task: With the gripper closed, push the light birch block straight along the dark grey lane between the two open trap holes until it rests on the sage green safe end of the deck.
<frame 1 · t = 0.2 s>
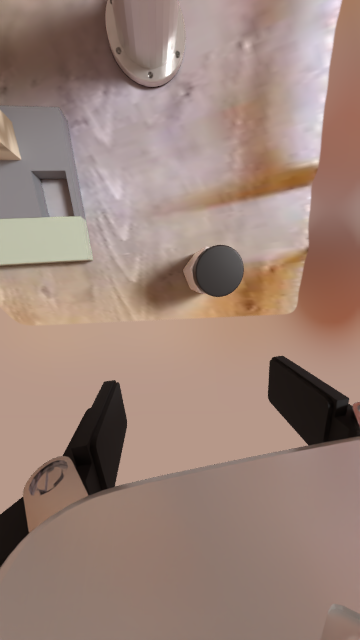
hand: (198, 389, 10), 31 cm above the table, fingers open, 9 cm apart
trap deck: (24, 198, 32), on the table
jar: (201, 272, 40), on the table
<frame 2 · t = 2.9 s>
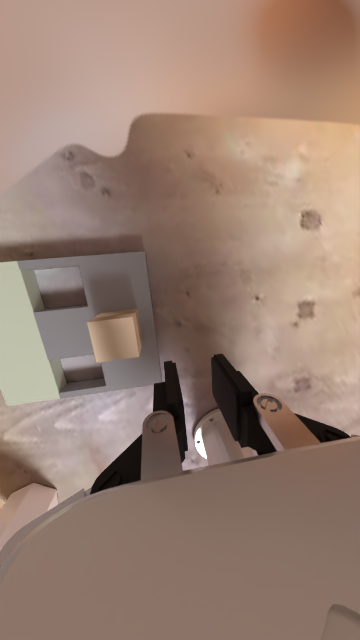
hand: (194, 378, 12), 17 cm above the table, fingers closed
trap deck: (79, 328, 27), on the table
birch block: (122, 327, 25), point 2 cm above the table, touching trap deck
jar: (36, 497, 34), on the table
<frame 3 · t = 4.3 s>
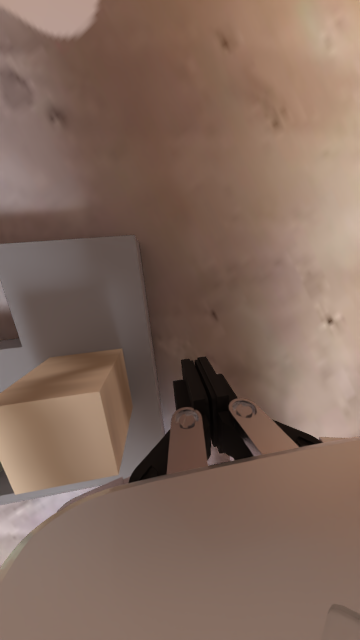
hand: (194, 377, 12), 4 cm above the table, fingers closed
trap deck: (19, 378, 15), on the table
birch block: (93, 383, 13), point 2 cm above the table, touching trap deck
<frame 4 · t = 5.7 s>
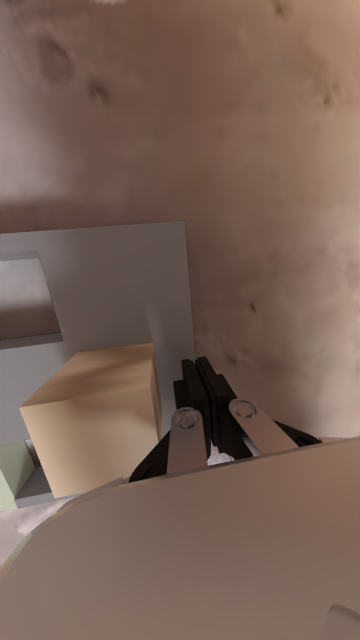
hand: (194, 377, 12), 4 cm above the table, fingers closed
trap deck: (52, 375, 14), on the table
birch block: (122, 379, 12), point 3 cm above the table, touching gripper
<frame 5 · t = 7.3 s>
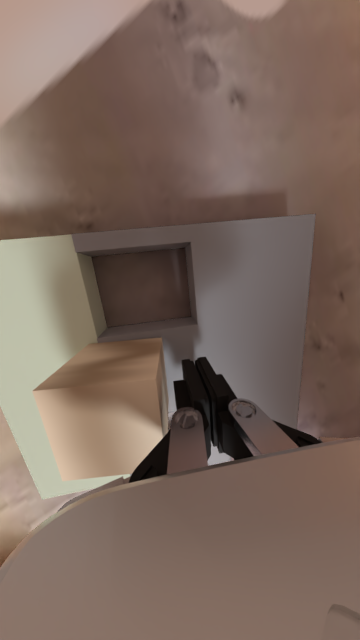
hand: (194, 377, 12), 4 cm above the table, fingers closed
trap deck: (161, 359, 15), on the table
birch block: (130, 372, 13), point 3 cm above the table, touching gripper, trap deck
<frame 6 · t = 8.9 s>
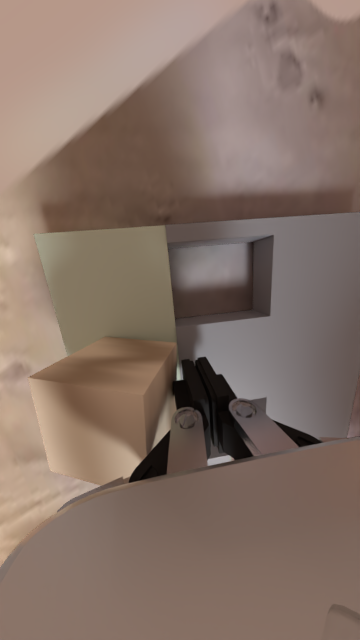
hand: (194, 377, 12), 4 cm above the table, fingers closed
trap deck: (220, 351, 16), on the table
birch block: (141, 374, 12), point 3 cm above the table, tilted 19°, touching gripper, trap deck
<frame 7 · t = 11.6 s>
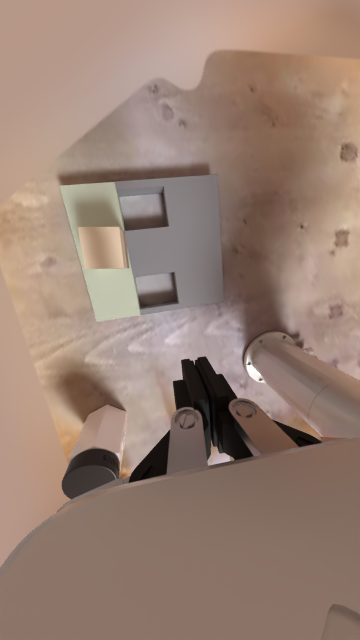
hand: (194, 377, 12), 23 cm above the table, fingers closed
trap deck: (153, 253, 31), on the table
birch block: (111, 252, 27), point 2 cm above the table, touching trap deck
jar: (108, 420, 38), on the table
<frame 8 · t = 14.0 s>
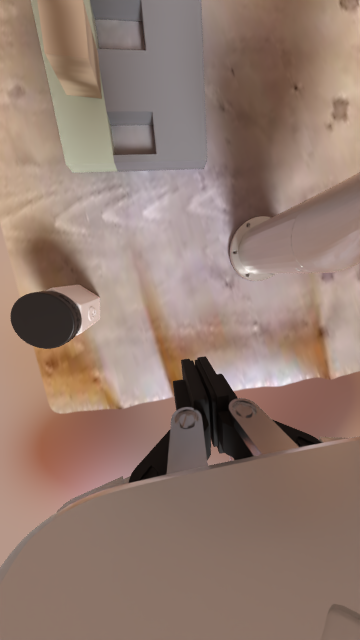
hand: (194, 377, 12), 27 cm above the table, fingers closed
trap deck: (131, 98, 28), on the table
birch block: (82, 74, 25), point 2 cm above the table, touching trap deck
jar: (80, 306, 36), on the table
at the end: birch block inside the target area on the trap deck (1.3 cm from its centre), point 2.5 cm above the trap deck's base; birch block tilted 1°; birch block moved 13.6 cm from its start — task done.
